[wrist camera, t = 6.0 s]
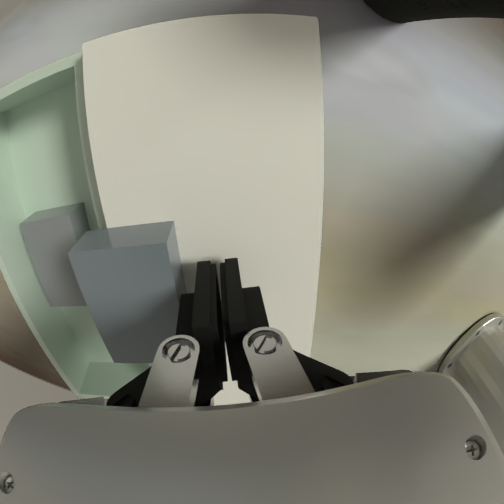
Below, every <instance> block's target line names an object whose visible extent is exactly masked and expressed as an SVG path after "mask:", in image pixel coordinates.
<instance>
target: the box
mask: <svg viewBox="0 0 504 504" xmlns="http://www.w3.org/2000/svg"><path fill="white" fill-rule="evenodd" d="M82 202H84V206H85V210H86V215H87V219H88V223H89V227H90V231H91V230H99V229H106V228H107V225H106V221H105V217H104V213H103V209H102V204H101V200H100V195H99V191H98V186H97V181H96V176H95V170H94V165H93V159H92V153H91V146H90V139H89V132H88V124H87V115H86V106H85V94H84V79H83V51H81V52H78V53H75V54H72V55H70V56H67V57H65V58H62V59H60V60H57V61H55V62H53V63H50V64H48V65H46V66H44V67H41V68H39V69H37V70H35V71H33V72H31V73H29V74H27V75H25V76H23V77H21V78H19V79H17V80H15V81H13V82H12V83H10V84H8V85H6V86H5V87H3V88H1V89H0V269H1V272H2V274H3V276H4V278H5V281H6V283H7V285H8V287H9V289H10V292H11V294H12V296H13V298H14V300H15V302H16V304H17V306H18V308H19V310H20V311H21V313H22V315H23V317H24V319H25V321H26V322H27V324H28V326H29V328H30V330H31V331H32V333H33V335H34V336H35V338H36V340H37V341H38V343H39V345H40V346H41V348H42V349H43V351H44V352H45V354H46V355H47V357H48V358H49V360H50V361H51V363H52V364H53V366H54V367H55V369H56V370H57V372H58V373H59V374H60V376H61V377H62V379H63V380H64V381H65V383H66V384H67V385H68V387H69V388H70V389H71V390H72V392H73V393H74V394H75V396H76V397H80V398H96V397H102V396H104V397H105V399H109V397H110V396H111V395H112V394H113V393H114V392H116V391H117V390H119V389H120V388H121V387H123V386H124V385H126V384H127V383H128V382H130V381H131V380H133V379H134V378H135V377H137V376H138V375H140V374H141V373H142V372H144V371H145V370H147V369H148V368H149V367H151V366H152V364H153V363H114V361H113V360H112V358H111V356H110V354H109V352H108V350H107V348H106V346H105V344H104V342H103V340H102V338H101V336H100V333H99V331H98V329H97V327H96V325H95V323H94V320H93V318H92V316H91V314H90V311H89V309H88V307H87V306H60V307H51V306H50V304H49V302H48V299H47V297H46V295H45V293H44V290H43V288H42V286H41V283H40V281H39V279H38V276H37V274H36V271H35V269H34V266H33V263H32V261H31V258H30V255H29V252H28V249H27V247H26V244H25V241H24V238H23V234H22V231H21V228H20V225H19V224H20V223H21V222H23V221H24V220H25V219H26V218H28V217H29V216H30V215H32V214H33V213H34V212H36V211H41V210H46V209H51V208H56V207H61V206H66V205H71V204H77V203H82Z"/></svg>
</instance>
